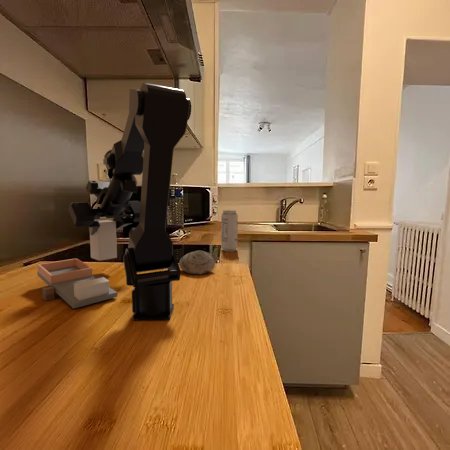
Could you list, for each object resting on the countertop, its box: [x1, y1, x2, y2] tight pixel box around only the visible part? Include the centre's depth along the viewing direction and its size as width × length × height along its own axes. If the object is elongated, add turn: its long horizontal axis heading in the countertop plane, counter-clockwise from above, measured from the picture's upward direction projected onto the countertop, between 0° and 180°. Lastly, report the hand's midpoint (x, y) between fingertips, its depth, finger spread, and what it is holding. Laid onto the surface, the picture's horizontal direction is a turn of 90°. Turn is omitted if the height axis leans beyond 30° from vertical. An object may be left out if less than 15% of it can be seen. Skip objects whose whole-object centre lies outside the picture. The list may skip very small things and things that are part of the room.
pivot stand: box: [41, 274, 106, 302], centre depth 67 cm, size 2×13×2 cm, turn 137°
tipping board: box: [36, 257, 118, 309], centre depth 67 cm, size 21×9×4 cm, turn 47°
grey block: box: [89, 219, 118, 261], centre depth 82 cm, size 5×5×10 cm
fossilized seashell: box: [178, 249, 216, 276], centre depth 87 cm, size 11×11×7 cm
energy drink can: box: [220, 209, 239, 253], centre depth 114 cm, size 6×6×15 cm
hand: (100, 232), depth 83 cm, fingers closed on grey block, 5 cm apart
